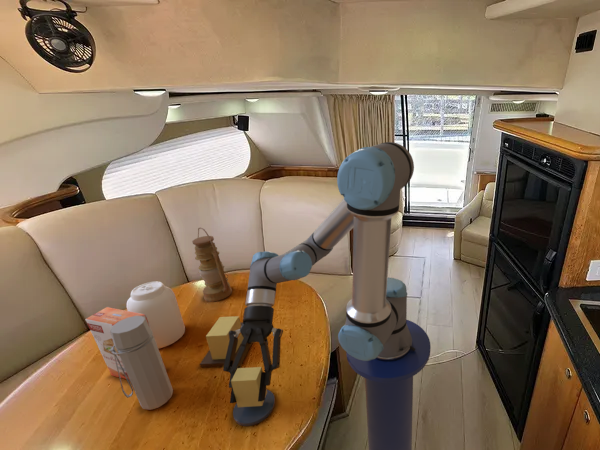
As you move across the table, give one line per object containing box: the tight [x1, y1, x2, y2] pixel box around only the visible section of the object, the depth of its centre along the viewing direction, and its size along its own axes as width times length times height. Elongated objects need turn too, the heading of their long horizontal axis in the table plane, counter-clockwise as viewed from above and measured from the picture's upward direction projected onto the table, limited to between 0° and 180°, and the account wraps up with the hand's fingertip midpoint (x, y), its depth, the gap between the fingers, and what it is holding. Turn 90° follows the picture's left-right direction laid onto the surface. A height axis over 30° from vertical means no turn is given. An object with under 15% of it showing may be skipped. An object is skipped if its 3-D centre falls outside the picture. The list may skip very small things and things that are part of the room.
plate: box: [232, 389, 276, 427], centre depth 82 cm, size 10×10×1 cm
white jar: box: [126, 280, 186, 350], centre depth 103 cm, size 12×12×20 cm
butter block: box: [205, 315, 244, 360], centre depth 98 cm, size 6×9×9 cm, turn 4°
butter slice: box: [231, 366, 268, 407], centre depth 79 cm, size 6×4×9 cm, turn 94°
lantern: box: [191, 227, 233, 303], centre depth 125 cm, size 15×10×30 cm
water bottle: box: [110, 316, 174, 411], centre depth 79 cm, size 9×8×25 cm
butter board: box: [199, 321, 253, 368], centre depth 103 cm, size 12×19×1 cm, turn 4°
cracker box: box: [85, 306, 167, 381], centre depth 88 cm, size 14×6×21 cm, turn 76°
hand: (247, 401), depth 78 cm, fingers closed on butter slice, 6 cm apart
